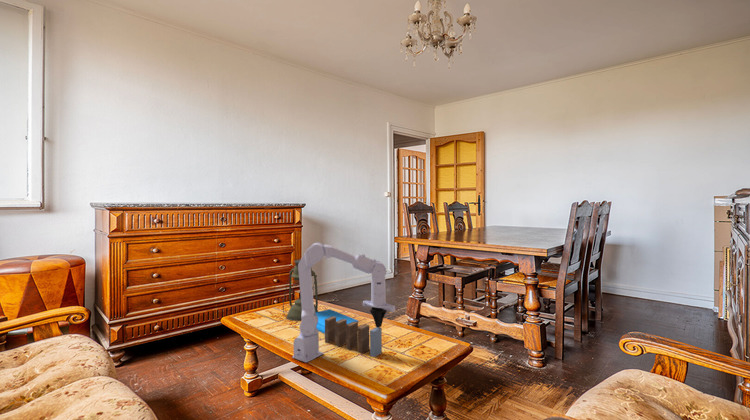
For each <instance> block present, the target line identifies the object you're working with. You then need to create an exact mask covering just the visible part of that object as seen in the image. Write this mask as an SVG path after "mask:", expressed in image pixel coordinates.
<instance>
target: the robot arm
mask: <svg viewBox="0 0 750 420" xmlns="http://www.w3.org/2000/svg"><path fill="white" fill-rule="evenodd" d="M323 258H325V259H330V258H335V259H337V260H340V261H343V262H346V263H349V264H352V267H353V269H355V270H358V271H361V272H364V273H366V274H371V282H370V287H371V288H370V289H371V290H370V292H371V295H370V300H363V301H362V307H369V308H371V309H370V310H369V313H370V314H371V316H372V318H373V321H374V324H375V328H376V327H378V328H379V327H380V328H382V326H383V325H382V324H383V322H384V318H385V315H386V313H387V311H389V312H391V313H394V312H396V306H395V305H394V304H393V305H392V304H390V303H388V302H386V301H387V300H386V299H387V295H386V293H387V292H386V287H387V285H386V275H387V268H386V267H385V264H384V263H383V262H381V261H380V260H377V259H375V258H374V259H372V258H369V257H367V256H366V254H363V253H362V254H359V253H358V254H356V255H353V254H351V253H349V252H348V251H347V252H346V251H344V250H341V249H340V248H337V247H334V246H333V245H330V244H327V243H325V244H323V243H322V242H313V243H312V244H311V245H310V246H309V247H308V248H307V249H306V250H305V251H304V254H303V255H302V257H301V258H300V259H301V260H300V262H299V264H298V270H299V281H298V282H299V291H300V292H299V293H300V296H301V297H300V298H301V306H302V314H301V321H300V324H299V335H298V336H297V337H295V338H294V340H293V355H292V357H291V358H293V359H296V360H298V361H301V362H304V363H309V362H310V361H313V360H315V359H317V358H318V357H321V356H323V355H324V354H325V353H324V352H322V351H320V349H319V348H320V347H319V346H320V345H319V344H320V342H319V338H320V337H319V332H320V331H318V329H317V328H316V326H317V323H318V317H317V315H316V313H315V308H314V302H315V299H314V293H313V291H314V290H313V289H314V288H313V279H312V278H313V276H311V268H313V266H314V265H315V263H317V262H319V261H321V260H323Z"/></svg>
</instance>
